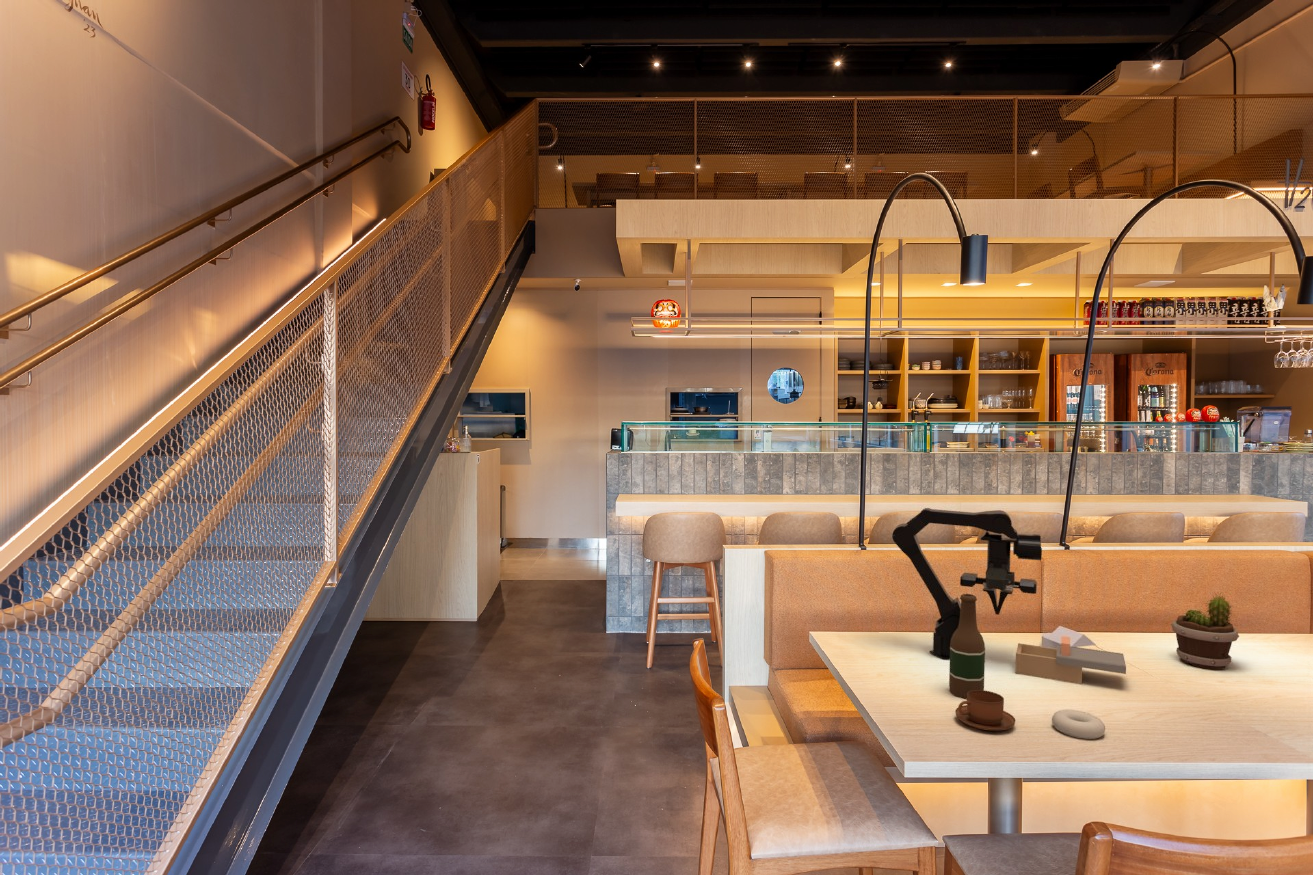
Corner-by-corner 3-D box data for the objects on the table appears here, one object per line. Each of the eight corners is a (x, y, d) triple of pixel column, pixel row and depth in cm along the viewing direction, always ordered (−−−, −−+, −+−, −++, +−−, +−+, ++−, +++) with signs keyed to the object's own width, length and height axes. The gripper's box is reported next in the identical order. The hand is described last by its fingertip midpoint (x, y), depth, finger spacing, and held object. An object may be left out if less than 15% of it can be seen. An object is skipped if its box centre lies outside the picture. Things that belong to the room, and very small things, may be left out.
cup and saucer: (989, 740, 155) (990, 710, 155) (943, 718, 166) (943, 691, 166) (1027, 729, 161) (1028, 700, 161) (980, 709, 172) (981, 682, 171)
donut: (1070, 719, 167) (1041, 726, 162) (1071, 704, 167) (1041, 710, 162) (1115, 737, 158) (1085, 745, 153) (1116, 720, 158) (1086, 728, 153)
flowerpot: (1179, 669, 200) (1181, 594, 199) (1164, 652, 214) (1166, 582, 214) (1245, 676, 195) (1248, 600, 194) (1226, 658, 209) (1228, 587, 208)
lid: (1056, 663, 190) (1056, 644, 190) (1056, 651, 200) (1057, 633, 200) (1125, 674, 183) (1126, 654, 183) (1122, 660, 193) (1123, 642, 193)
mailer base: (1015, 673, 195) (1016, 653, 195) (1017, 662, 204) (1018, 643, 204) (1081, 683, 188) (1082, 662, 188) (1081, 672, 197) (1081, 652, 197)
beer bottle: (982, 690, 183) (984, 592, 182) (985, 701, 176) (987, 600, 175) (948, 686, 186) (950, 590, 185) (949, 697, 178) (951, 597, 178)
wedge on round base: (1096, 656, 210) (1059, 642, 222) (1096, 633, 210) (1060, 620, 222) (1070, 659, 207) (1034, 645, 220) (1070, 635, 207) (1034, 622, 220)
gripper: (958, 558, 201) (956, 616, 202) (1036, 566, 192) (1034, 626, 193) (963, 552, 211) (962, 607, 211) (1037, 558, 202) (1036, 616, 202)
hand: (997, 614), depth 204 cm, fingers closed
